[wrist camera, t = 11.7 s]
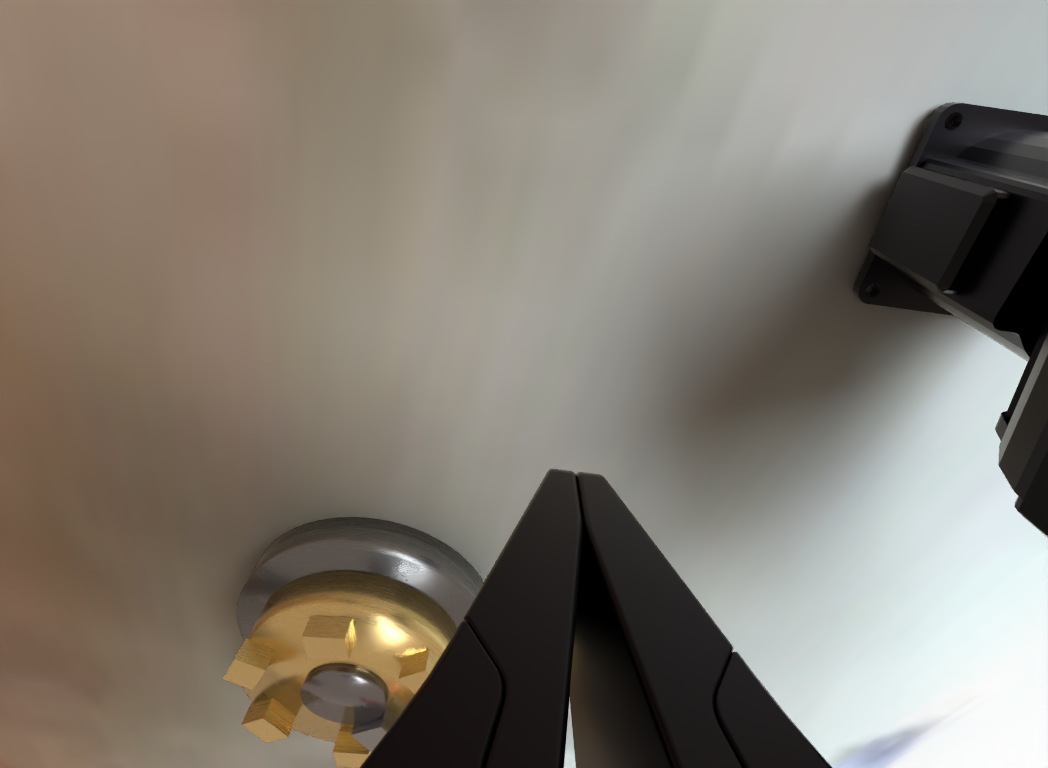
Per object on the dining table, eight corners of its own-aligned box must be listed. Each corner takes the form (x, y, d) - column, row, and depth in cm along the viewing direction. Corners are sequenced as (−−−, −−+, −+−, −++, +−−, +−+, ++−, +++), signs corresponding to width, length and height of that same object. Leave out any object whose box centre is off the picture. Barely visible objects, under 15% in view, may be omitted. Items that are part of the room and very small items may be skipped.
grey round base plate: (503, 534, 27) (500, 566, 25) (481, 685, 34) (477, 718, 32) (239, 502, 27) (218, 532, 25) (268, 661, 33) (253, 694, 32)
